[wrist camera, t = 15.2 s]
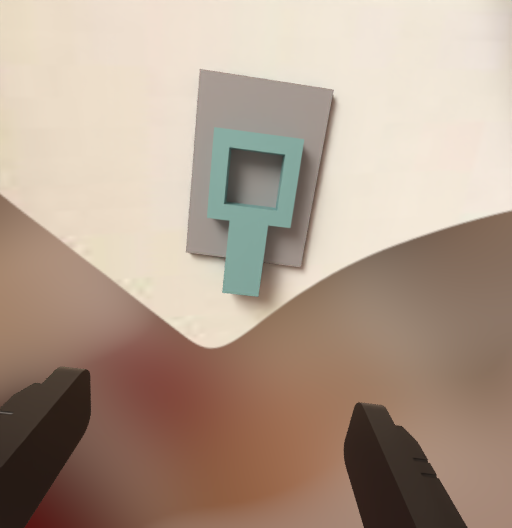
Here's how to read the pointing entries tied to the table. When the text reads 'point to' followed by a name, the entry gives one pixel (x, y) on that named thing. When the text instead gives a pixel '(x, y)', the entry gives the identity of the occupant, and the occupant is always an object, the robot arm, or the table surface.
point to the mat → (256, 157)
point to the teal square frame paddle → (250, 216)
